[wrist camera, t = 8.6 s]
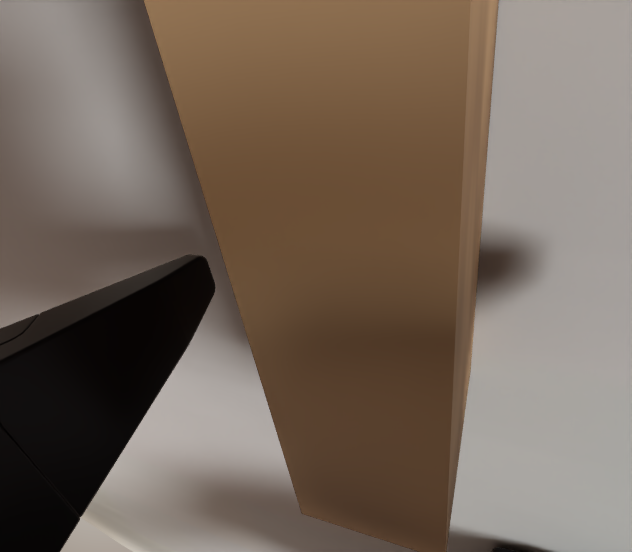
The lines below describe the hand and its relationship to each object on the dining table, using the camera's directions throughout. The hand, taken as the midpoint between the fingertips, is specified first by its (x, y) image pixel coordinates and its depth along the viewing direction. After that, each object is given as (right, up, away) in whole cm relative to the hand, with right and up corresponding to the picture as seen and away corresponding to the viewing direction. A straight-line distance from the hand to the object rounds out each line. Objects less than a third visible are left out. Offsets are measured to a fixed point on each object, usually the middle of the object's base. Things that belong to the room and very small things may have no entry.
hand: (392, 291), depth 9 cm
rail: (0, +4, 0) cm, 4 cm away
